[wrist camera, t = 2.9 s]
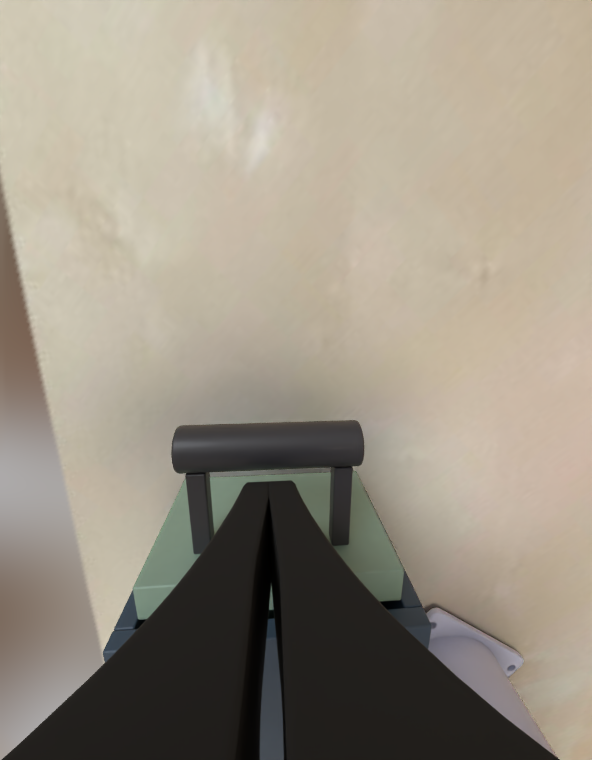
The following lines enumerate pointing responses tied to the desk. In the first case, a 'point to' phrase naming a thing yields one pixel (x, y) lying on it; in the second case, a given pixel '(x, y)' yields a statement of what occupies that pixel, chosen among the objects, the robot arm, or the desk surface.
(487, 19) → the desk surface
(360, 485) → the drawer
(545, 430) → the desk surface
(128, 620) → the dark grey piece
